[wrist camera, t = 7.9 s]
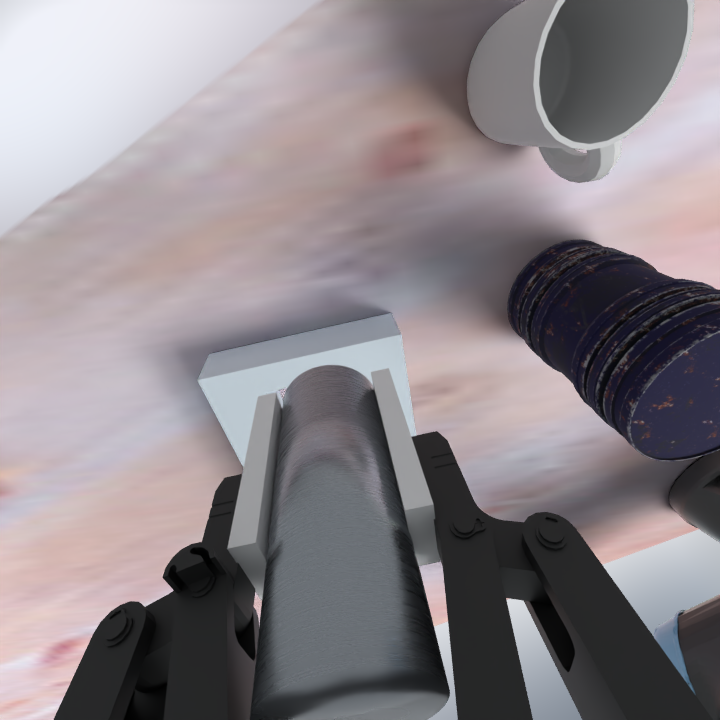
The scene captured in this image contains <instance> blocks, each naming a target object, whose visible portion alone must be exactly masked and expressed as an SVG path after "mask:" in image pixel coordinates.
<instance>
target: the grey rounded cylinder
mask: <svg viewBox="0 0 720 720" xmlns="http://www.w3.org/2000/svg"><path fill="white" fill-rule="evenodd" d="M449 696H450V690H449V686H448V683H447V678H446V674H445V670H444V666H443V662H442V658H441V654H440V650H439V646H438V642H437V638H436V634H435V630H434V626H433V622H432V617H431V613H430V609H429V605H428V601H427V597H426V593H425V589H424V585H423V581H422V577H421V573H420V569H419V565H418V561H417V557H416V553H415V549H414V545H413V541H412V537H411V535H410V533H409V530H408V526H407V522H406V518H405V514H404V510H403V506H402V502H401V497H400V493H399V489H398V485H397V481H396V477H395V473H394V469H393V465H392V461H391V457H390V452H389V448H388V444H387V440H386V436H385V432H384V428H383V424H382V420H381V416H380V412H379V407H378V403H377V399H376V395H375V391H374V387H373V385H372V384H371V382H370V381H369V380H368V379H367V378H366V377H365V376H364V375H363V374H362V373H360V372H358V371H357V370H354V369H352V368H349V367H346V366H340V365H324V366H318V367H315V368H312V369H309V370H307V371H305V372H303V373H302V374H300V375H299V376H297V377H296V378H295V379H294V380H293V381H292V382H291V384H290V385H289V386H288V388H287V390H286V392H285V395H284V400H283V409H282V418H281V428H280V437H279V447H278V456H277V466H276V475H275V484H274V494H273V503H272V513H271V522H270V532H269V541H268V551H267V560H266V570H265V579H264V589H263V598H262V608H261V617H260V627H259V636H258V645H257V655H256V664H255V674H254V683H253V693H252V702H251V712H250V720H427V719H429V718H430V717H432V716H433V715H435V714H436V713H437V712H439V711H440V710H441V709H442V708H443V707H444V706H445V704H446V703H447V701H448V698H449Z"/></svg>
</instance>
